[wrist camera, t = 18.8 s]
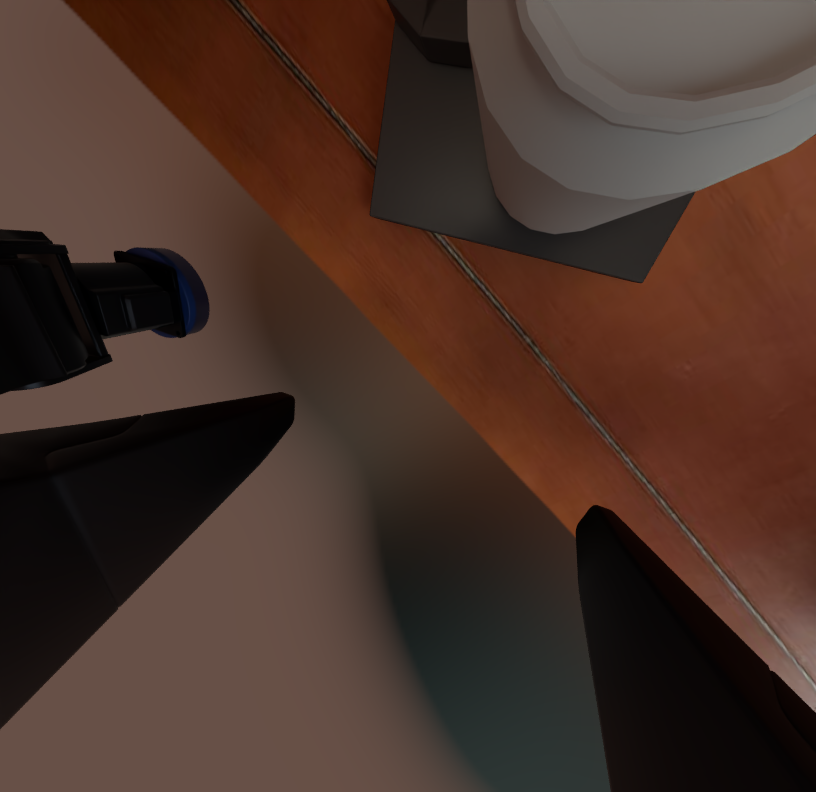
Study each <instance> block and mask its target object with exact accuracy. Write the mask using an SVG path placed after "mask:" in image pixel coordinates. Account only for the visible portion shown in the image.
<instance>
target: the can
mask: <svg viewBox="0 0 816 792" xmlns="http://www.w3.org/2000/svg"><path fill="white" fill-rule="evenodd" d="M467 16H468V40H469V47H470V53H471V60H472V66H473V73H474V79H475V86H476V92H477V99H478V105H479V112H480V119H481V125H482V132H483V138H484V145H485V151H486V158H487V164H488V170H489V173H490V177H491V180H492V184H493V187H494V191H495V194H496V196H497V198H498V199H499V201H500V202H501V204H502V205H503V206H504V208H505V209H506V211H507V212H508V214H509V215H510V216H511V217H513V218H514V219H516V220H517V221H519V222H520V223H522V224H523V225H525V226H526V227H528V228H529V229H532V230H537V231H541V232H546V233H551V234H561V233H568V232H576V231H583V230H586V229H589V228H591V227H594V226H597V225H600V224H603V223H606V222H609V221H612V220H614V219H617V218H620V217H623V216H626V215H629V214H632V213H635V212H637V211H640V210H643V209H646V208H649V207H652V206H655V205H658V204H660V203H663V202H666V201H669V200H672V199H675V198H678V197H681V196H683V195H686V194H689V193H692V192H695V191H698V190H701V189H703V188H706V187H708V186H710V185H713V184H715V183H717V182H720V181H722V180H724V179H727V178H729V177H731V176H734V175H736V174H738V173H741V172H743V171H745V170H748V169H750V168H752V167H755V166H757V165H759V164H762V163H764V162H766V161H769V160H771V159H774V158H776V157H778V156H781V155H783V154H785V153H788V152H790V151H792V150H793V149H794V148H796V147H797V146H799V145H800V144H802V143H803V142H805V141H806V140H808V139H809V138H811V137H812V136H813V135H815V134H816V0H467Z"/></svg>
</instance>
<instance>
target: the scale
mask: <svg viewBox="0 0 816 792" xmlns="http://www.w3.org/2000/svg"><path fill="white" fill-rule="evenodd" d="M387 2H388V4H389V7H390V9H391V11H392V13H393V16H394V18H395V26H394V34H393V41H392V49H391V56H390V64H389V72H388V79H387V87H386V94H385V102H384V109H383V117H382V124H381V132H380V139H379V147H378V155H377V162H376V170H375V177H374V185H373V192H372V200H371V207H370V216H372V217H375V218H378V219H382V220H386V221H390V222H394V223H398V224H402V225H406V226H410V227H414V228H418V229H422V230H426V231H430V232H434V233H438V234H442V235H446V236H450V237H454V238H459V239H463V240H467V241H471V242H475V243H479V244H483V245H487V246H491V247H495V248H499V249H503V250H507V251H511V252H515V253H519V254H523V255H527V256H531V257H535V258H539V259H543V260H547V261H551V262H555V263H559V264H563V265H567V266H571V267H575V268H579V269H583V270H587V271H591V272H595V273H599V274H604V275H608V276H612V277H616V278H620V279H624V280H628V281H632V282H637V283H643V281H644V279H645V278H646V276H647V274H648V273H649V271H650V269H651V267H652V266H653V264H654V262H655V260H656V259H657V257H658V255H659V254H660V252H661V250H662V248H663V247H664V245H665V243H666V241H667V240H668V238H669V236H670V235H671V233H672V231H673V229H674V228H675V226H676V224H677V222H678V221H679V219H680V217H681V216H682V214H683V212H684V210H685V209H686V207H687V205H688V203H689V202H690V200H691V198H692V197H693V195H694V193H695V192H692V193H689V194H686V195H683V196H681V197H678V198H675V199H672V200H669V201H666V202H663V203H660V204H658V205H655V206H652V207H649V208H646V209H643V210H640V211H637V212H635V213H632V214H629V215H626V216H623V217H620V218H617V219H614V220H612V221H609V222H606V223H603V224H600V225H597V226H594V227H591V228H589V229H586V230H583V231H576V232H568V233H561V234H551V233H546V232H541V231H537V230H532V229H529V228H528V227H526V226H525V225H523V224H522V223H520V222H519V221H517V220H516V219H514V218H513V217H511V216H510V215H509V214H508V212H507V211H506V209H505V208H504V206H503V205H502V204H501V202H500V201H499V199H498V198H497V196H496V194H495V191H494V187H493V184H492V180H491V177H490V173H489V170H488V164H487V158H486V151H485V145H484V138H483V132H482V125H481V119H480V112H479V105H478V99H477V92H476V86H475V79H474V73H473V66H472V60H471V53H470V47H469V40H468V16H467V0H387Z"/></svg>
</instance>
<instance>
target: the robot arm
mask: <svg viewBox="0 0 816 792" xmlns="http://www.w3.org/2000/svg"><path fill="white" fill-rule="evenodd" d="M67 254H68V251H67V248H66V246H65V245H58V244H53V243H52V241H50V240H49V239H48V238H47V237H46V236H45V235H44V234H43V233H42V232H37V231H21V230H2V229H0V394H3V393H6V392H9V391H17V390H27V389H34V388H40V387H45V386H49V385H53V384H56V383H60V382H62V381H65V380H67V379H70V378H73V377H75V376H78V375H80V374H82V373H85V372H87V371H90V370H92V369H95V368H97V367H100V366H102V365H104V364H107V363H109V362H112V358H111V355H110V354H108V352H107V350H106V347H105V345H104V342H103V340H102V339H106V338H111V337H116V336H121V335H126V334H131V333H136V332H141V331H146V330H151V329H155V330H158V331H161V332H164V333H166V334H169V335H172V336H175V337H178V338H183V337H185V336H186V329H185V322H184V316H183V309H182V303H181V296H180V290H179V284H178V277H177V272H176V270H175V269H174V268H173V267H172V266H169V265H166V264H163V263H159V262H156V261H153V260H150V259H147V258H143V257H140V256H137V255H134V254H131V253H127V252H124V251H114V258H115V263H71V262H70V260H69V257H68V255H67ZM294 408H295V399H294V397H293V396H292V395H289V394H286V393H283V392H278V393H272V394H266V395H260V396H254V397H248V398H242V399H236V400H230V401H223V402H217V403H211V404H205V405H199V406H193V407H187V408H181V409H174V410H169V411H162V412H156V413H150V414H144V415H143V416H141V415H137V416H131V417H126V418H119V419H112V420H106V421H99V422H93V423H85V424H78V425H70V426H63V427H55V428H46V429H38V430H30V431H21V432H13V433H6V434H0V729H1V728H2V727H3V726H4V725H5V724H6V723H7V722H8V721H9V720H10V719H11V718H12V717H13V716H14V715H15V714H16V713H17V712H18V711H19V710H20V708H22V707H23V705H24V704H25V703H26V702H27V701H28V700H29V699H30V698H31V697H32V696H33V695H34V694H35V693H36V692H37V691H38V690H39V689H40V688H41V687H42V686H43V685H44V684H45V683H46V682H47V681H48V680H49V679H50V678H51V677H52V676H53V675H54V674H55V673H56V672H57V671H58V670H59V669H60V668H61V667H62V666H63V665H64V664H65V663H66V662H67V660H69V659H70V658H71V657H72V655H74V654H75V653H76V652H77V651H78V650H79V648H80V647H81V646H82V645H83V644H84V643H85V642H86V641H87V640H88V639H89V638H90V637H91V636H92V635H93V634H94V633H95V632H96V631H97V630H98V629H99V628H100V627H101V626H102V625H103V624H104V623H105V622H106V621H107V620H108V619H109V618H110V617H111V616H112V615H113V614H114V613H115V612H116V611H117V610H118V607H120V606H121V605H122V604H123V603H124V602H125V601H126V600H127V599H128V598H129V597H130V596H131V595H132V594H133V593H134V592H135V591H136V590H137V589H138V588H139V587H140V586H141V585H142V584H143V583H144V582H145V581H146V580H147V579H148V578H149V577H150V576H151V575H152V574H153V573H154V572H155V571H156V570H157V569H158V568H159V567H160V566H161V565H162V564H163V563H164V562H165V561H166V560H167V559H168V558H169V556H171V554H172V553H173V552H174V551H175V550H176V549H177V548H178V547H179V546H180V545H181V544H182V543H183V542H184V541H185V540H186V539H187V538H188V537H189V536H190V535H191V534H192V533H193V532H194V531H195V530H196V529H197V528H198V527H199V526H200V525H201V524H202V523H203V522H204V521H205V520H206V519H207V518H208V517H209V516H210V515H211V514H212V513H213V511H215V510H216V508H218V507H219V506H220V505H221V503H223V502H224V500H225V499H226V498H227V497H228V496H229V495H230V494H231V493H232V492H233V491H234V490H235V489H236V488H237V487H238V486H239V485H240V484H241V483H242V482H243V481H244V480H245V479H246V478H247V477H248V476H249V475H250V474H251V473H252V472H253V471H254V470H255V469H256V468H257V467H258V466H259V465H260V464H261V462H262V461H263V460H264V459H265V458H266V457H267V456H268V454H269V453H270V452H271V451H272V449H273V448H274V447H275V446H276V444H277V443H278V442H279V440H280V439H281V438H282V437H283V435H284V434H285V433H286V431H287V430H288V429H289V428H290V427H291V425H292V423H293V421H294V411H295V409H294ZM576 546H577V567H578V584H579V594H580V601H581V607H582V613H583V619H584V625H585V632H586V638H587V644H588V651H589V657H590V663H591V669H592V676H593V682H594V688H595V694H596V701H597V707H598V713H599V719H600V725H601V732H602V738H603V744H604V751H605V757H606V763H607V770H608V776H609V782H610V788H611V792H816V713H815V712H814V711H813V710H812V709H811V708H810V707H809V706H808V705H807V704H806V703H805V702H804V701H803V700H802V699H801V698H800V697H799V696H798V695H797V694H796V693H795V692H794V691H793V690H792V689H791V688H790V687H789V686H788V685H787V684H786V683H785V682H784V681H783V680H782V679H781V678H780V677H779V676H778V675H777V674H776V673H775V672H773V671H770V669H769V666H768V665H767V664H766V663H765V662H764V661H763V660H762V659H761V658H760V657H759V656H758V655H757V654H756V653H755V652H754V651H753V650H752V649H751V648H750V647H749V646H748V645H747V644H746V643H745V642H744V641H743V640H742V639H741V638H740V637H739V636H738V635H737V634H736V633H735V632H734V631H733V630H732V629H731V628H730V627H729V626H728V625H727V624H726V623H725V622H724V621H723V620H722V619H721V618H720V617H719V616H718V615H717V614H716V613H715V612H713V611H712V610H711V609H710V608H709V607H708V606H707V605H706V604H705V603H704V602H703V601H702V600H701V599H700V598H699V597H698V596H697V595H696V594H695V593H694V592H693V591H692V590H691V589H690V588H689V587H688V586H687V585H686V584H685V583H684V582H683V581H682V580H681V579H680V578H679V577H678V576H677V575H676V574H675V573H674V572H673V571H672V570H671V569H670V568H669V567H668V566H667V565H666V564H665V563H664V562H663V561H662V560H661V559H660V558H659V557H658V556H657V555H656V554H655V553H654V552H653V551H652V550H651V549H650V548H649V547H648V546H647V545H646V544H645V543H644V542H643V541H642V540H641V539H640V538H639V537H638V536H637V535H636V534H635V533H634V532H633V531H632V530H631V529H630V528H629V527H628V526H627V525H626V524H625V523H624V522H623V521H622V520H621V519H620V518H619V517H618V516H617V515H616V514H615V513H614V512H613V511H611V510H609V509H607V508H604V507H601V506H598V505H593V506H592V507H591V508H590V509H589V510H588V511H587V513H586V514H585V515H584V517H583V518H582V519H581V521H580V522H579V523H578V525H577V528H576Z"/></svg>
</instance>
